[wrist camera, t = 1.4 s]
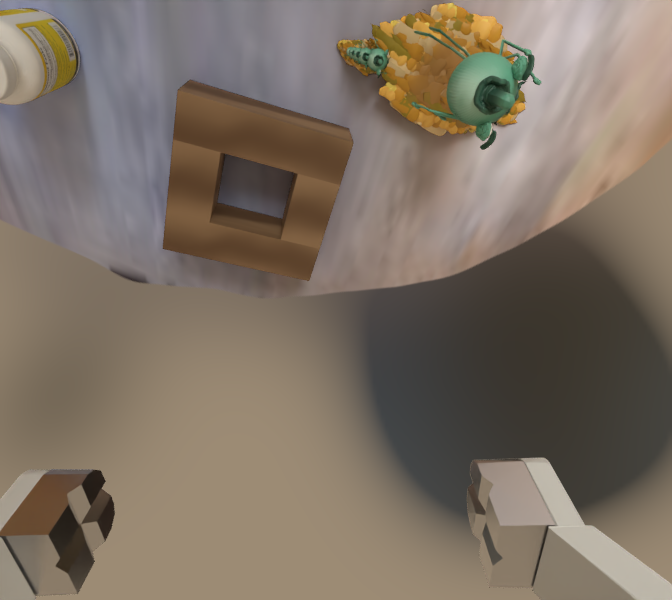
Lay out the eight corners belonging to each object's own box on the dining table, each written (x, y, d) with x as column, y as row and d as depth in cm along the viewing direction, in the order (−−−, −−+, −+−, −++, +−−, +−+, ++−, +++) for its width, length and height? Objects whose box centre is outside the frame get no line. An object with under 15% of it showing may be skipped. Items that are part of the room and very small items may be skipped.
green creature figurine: (375, -60, 32) (451, -73, 21) (544, 57, 39) (672, 96, 28) (320, 72, 37) (357, 121, 25) (480, 155, 44) (567, 223, 32)
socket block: (190, 79, 36) (177, 90, 33) (348, 128, 40) (353, 142, 36) (174, 227, 44) (162, 248, 40) (308, 258, 47) (309, 281, 44)
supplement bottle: (1, 61, 35) (-88, 82, 27) (15, -9, 32) (-78, -8, 24) (72, 100, 37) (10, 131, 29) (91, 37, 34) (28, 52, 26)
